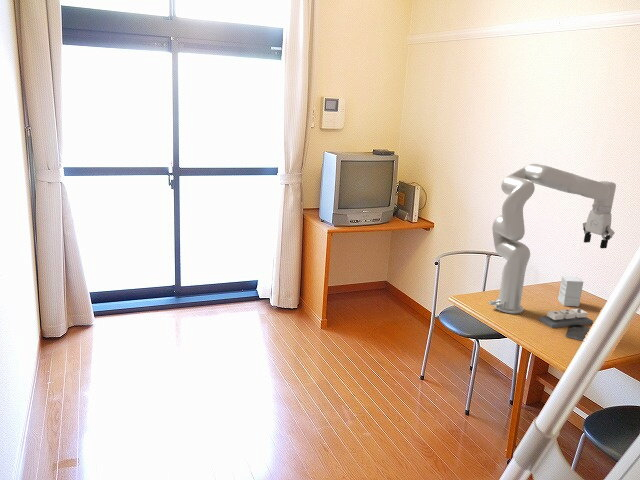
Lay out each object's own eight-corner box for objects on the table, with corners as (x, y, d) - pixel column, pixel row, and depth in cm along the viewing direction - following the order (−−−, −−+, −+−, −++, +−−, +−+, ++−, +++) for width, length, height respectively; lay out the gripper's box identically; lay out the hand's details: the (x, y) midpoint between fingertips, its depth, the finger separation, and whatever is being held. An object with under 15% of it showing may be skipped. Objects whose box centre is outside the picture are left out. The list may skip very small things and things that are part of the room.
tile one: (554, 319, 212) (555, 315, 211) (546, 315, 216) (547, 310, 215) (563, 319, 213) (564, 314, 212) (555, 314, 217) (556, 310, 216)
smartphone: (589, 327, 211) (585, 340, 198) (589, 329, 212) (585, 342, 198) (570, 322, 215) (565, 335, 202) (570, 324, 215) (565, 337, 202)
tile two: (566, 318, 213) (567, 314, 213) (558, 314, 217) (559, 309, 217) (575, 317, 214) (575, 313, 214) (567, 313, 219) (568, 309, 218)
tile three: (577, 317, 215) (578, 313, 214) (569, 313, 219) (570, 308, 218) (586, 316, 216) (587, 312, 215) (578, 312, 220) (579, 308, 220)
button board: (551, 327, 210) (552, 324, 210) (539, 320, 218) (539, 316, 217) (592, 323, 216) (593, 320, 215) (578, 316, 223) (579, 313, 223)
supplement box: (573, 301, 241) (577, 276, 238) (579, 307, 234) (584, 281, 231) (557, 300, 242) (561, 275, 238) (563, 305, 235) (567, 280, 231)
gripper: (580, 205, 233) (574, 240, 237) (610, 213, 217) (603, 250, 221) (593, 205, 235) (586, 240, 239) (624, 212, 219) (616, 250, 223)
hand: (594, 245), depth 230 cm, fingers open, 9 cm apart
